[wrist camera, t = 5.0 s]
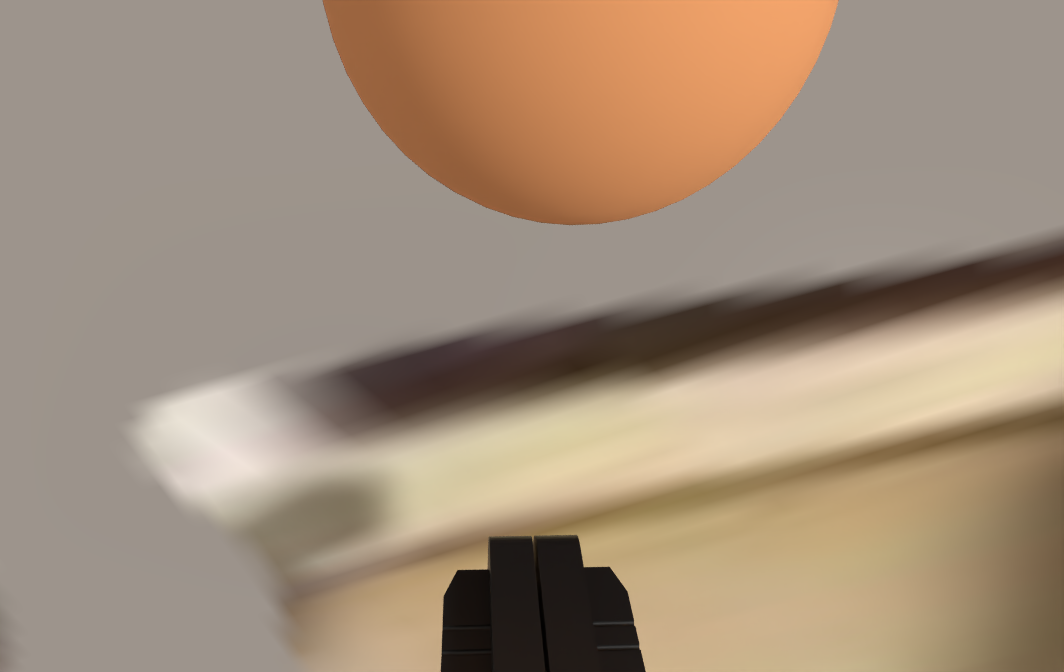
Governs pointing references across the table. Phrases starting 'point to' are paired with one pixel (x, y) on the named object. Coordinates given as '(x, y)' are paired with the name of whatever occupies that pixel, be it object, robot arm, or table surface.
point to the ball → (578, 93)
